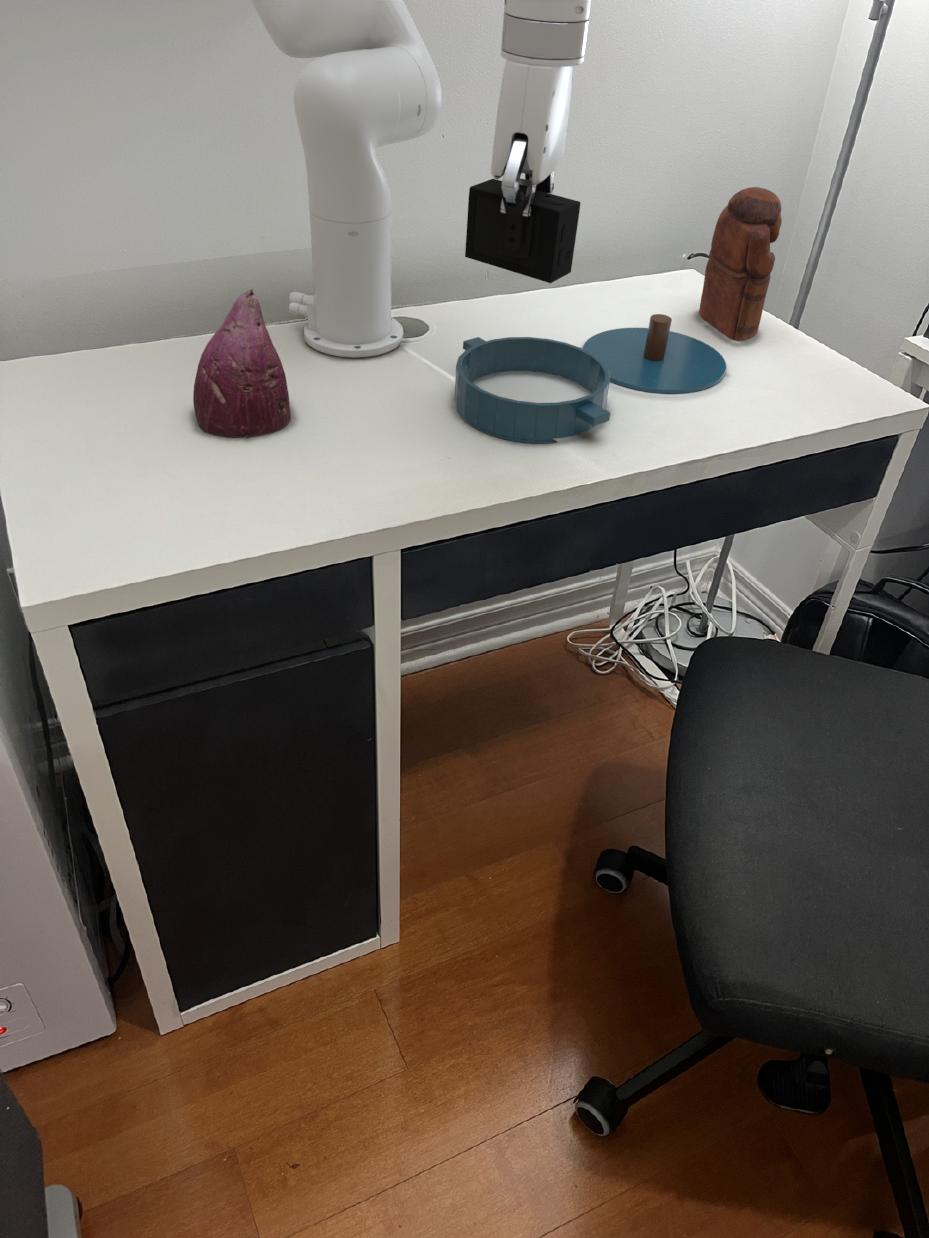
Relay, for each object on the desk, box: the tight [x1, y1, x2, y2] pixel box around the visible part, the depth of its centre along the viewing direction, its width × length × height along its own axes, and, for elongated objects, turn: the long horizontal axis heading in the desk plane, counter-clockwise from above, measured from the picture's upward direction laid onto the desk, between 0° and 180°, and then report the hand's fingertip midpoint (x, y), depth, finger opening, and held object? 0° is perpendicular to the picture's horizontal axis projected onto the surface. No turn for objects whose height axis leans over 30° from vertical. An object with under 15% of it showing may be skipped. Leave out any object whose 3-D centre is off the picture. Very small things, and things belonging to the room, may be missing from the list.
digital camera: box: [464, 178, 581, 284], centre depth 95 cm, size 10×5×7 cm, turn 56°
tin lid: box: [581, 313, 727, 394], centre depth 117 cm, size 18×18×6 cm
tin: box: [453, 336, 611, 444], centre depth 107 cm, size 17×23×5 cm
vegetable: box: [192, 287, 292, 439], centre depth 101 cm, size 10×10×15 cm
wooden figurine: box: [698, 186, 783, 342], centre depth 124 cm, size 12×6×18 cm, turn 19°
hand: (523, 242), depth 96 cm, fingers closed on digital camera, 6 cm apart
